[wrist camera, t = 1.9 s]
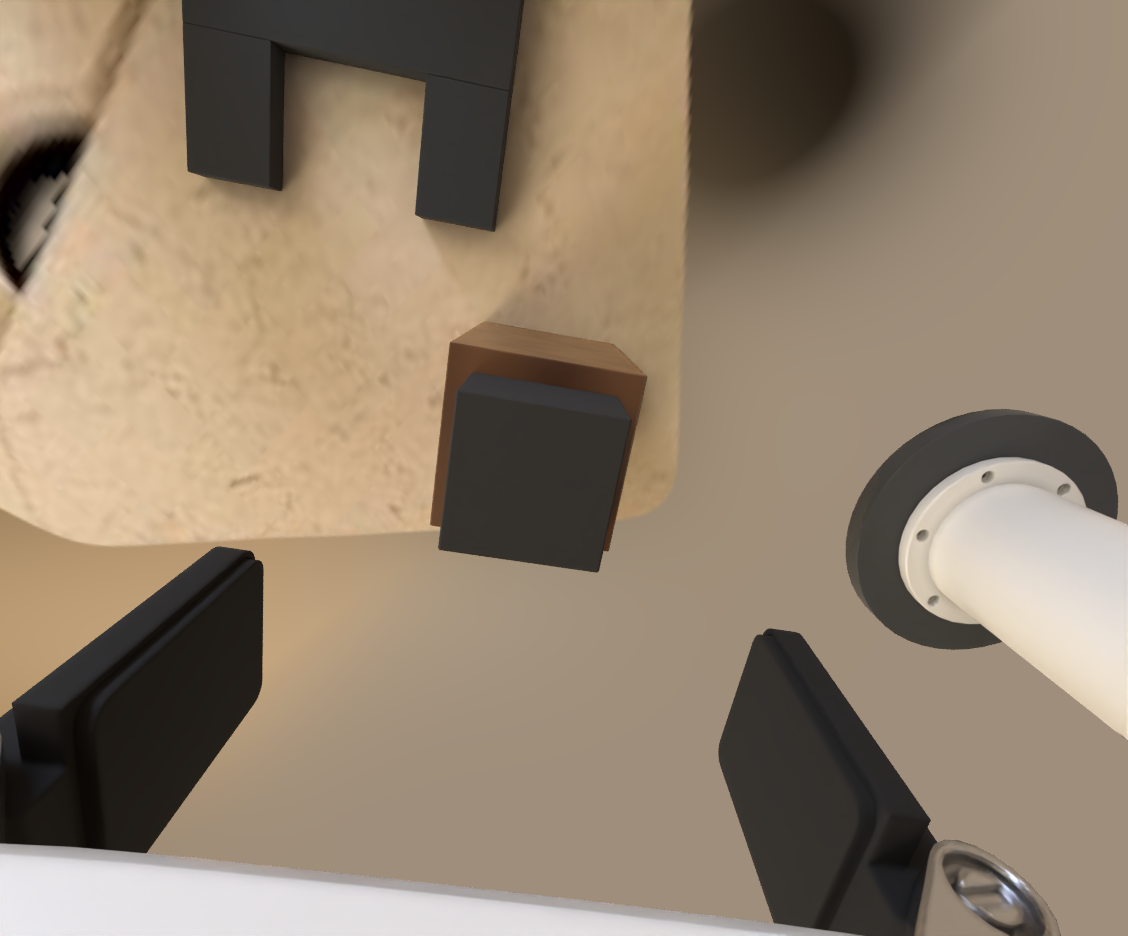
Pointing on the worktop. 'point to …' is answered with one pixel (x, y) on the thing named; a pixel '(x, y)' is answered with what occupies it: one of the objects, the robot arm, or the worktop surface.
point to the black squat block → (532, 472)
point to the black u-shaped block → (365, 40)
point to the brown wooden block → (537, 381)
